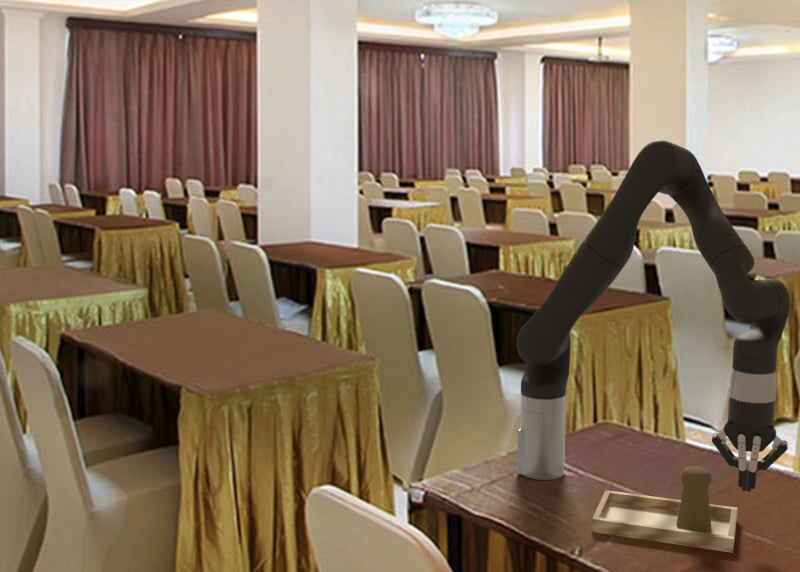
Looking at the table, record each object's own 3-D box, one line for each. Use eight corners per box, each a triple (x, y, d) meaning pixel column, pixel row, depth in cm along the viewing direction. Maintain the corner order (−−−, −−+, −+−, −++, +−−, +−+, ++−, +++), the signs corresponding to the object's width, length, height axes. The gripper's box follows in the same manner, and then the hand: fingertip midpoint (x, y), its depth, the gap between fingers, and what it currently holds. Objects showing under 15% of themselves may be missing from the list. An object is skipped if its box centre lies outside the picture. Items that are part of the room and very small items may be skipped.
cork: (671, 520, 175) (673, 463, 173) (703, 519, 175) (706, 461, 173) (683, 534, 169) (686, 475, 167) (716, 533, 169) (719, 474, 167)
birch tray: (591, 531, 172) (592, 518, 171) (605, 502, 184) (605, 490, 184) (733, 552, 163) (733, 539, 162) (736, 520, 176) (737, 507, 175)
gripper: (793, 392, 165) (787, 487, 168) (713, 385, 170) (708, 477, 173) (794, 404, 158) (787, 503, 161) (710, 396, 163) (705, 492, 166)
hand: (746, 489), depth 167 cm, fingers closed
